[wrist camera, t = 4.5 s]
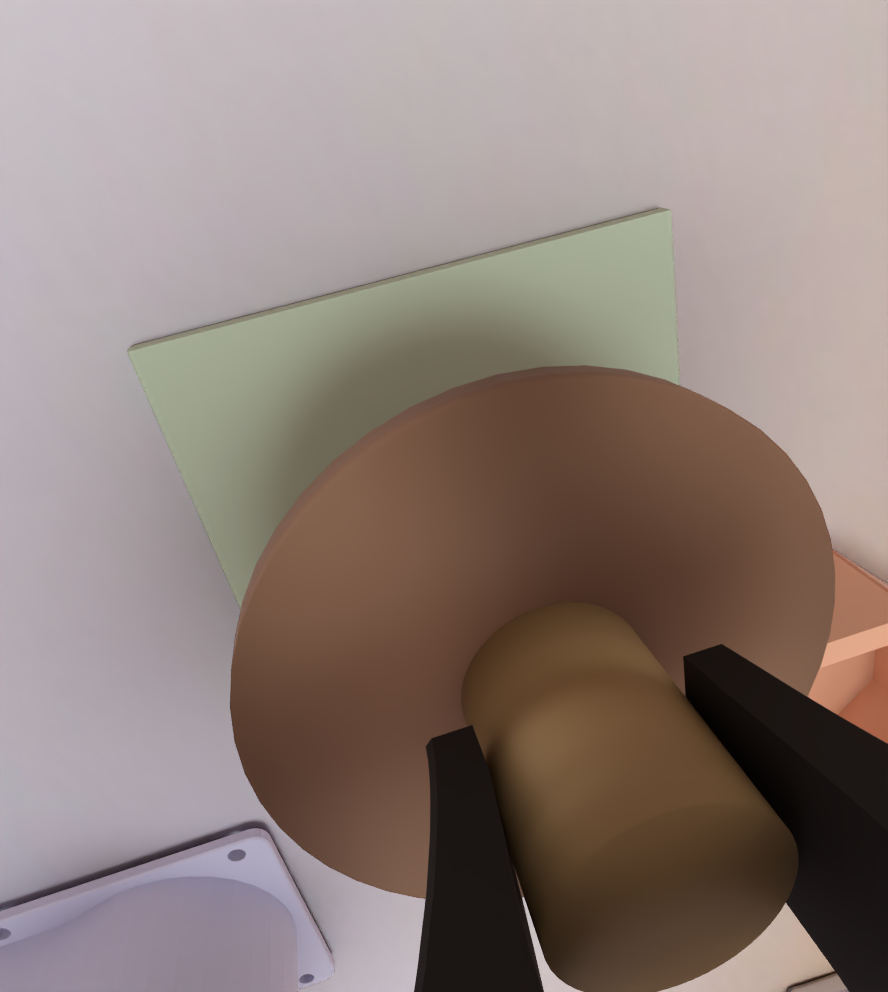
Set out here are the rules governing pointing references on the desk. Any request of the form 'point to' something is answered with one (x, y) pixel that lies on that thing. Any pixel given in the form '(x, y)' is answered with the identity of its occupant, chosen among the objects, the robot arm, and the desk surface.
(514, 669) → the walnut lid
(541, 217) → the desk surface
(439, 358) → the green mat
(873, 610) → the terracotta bowl
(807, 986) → the medicine box
